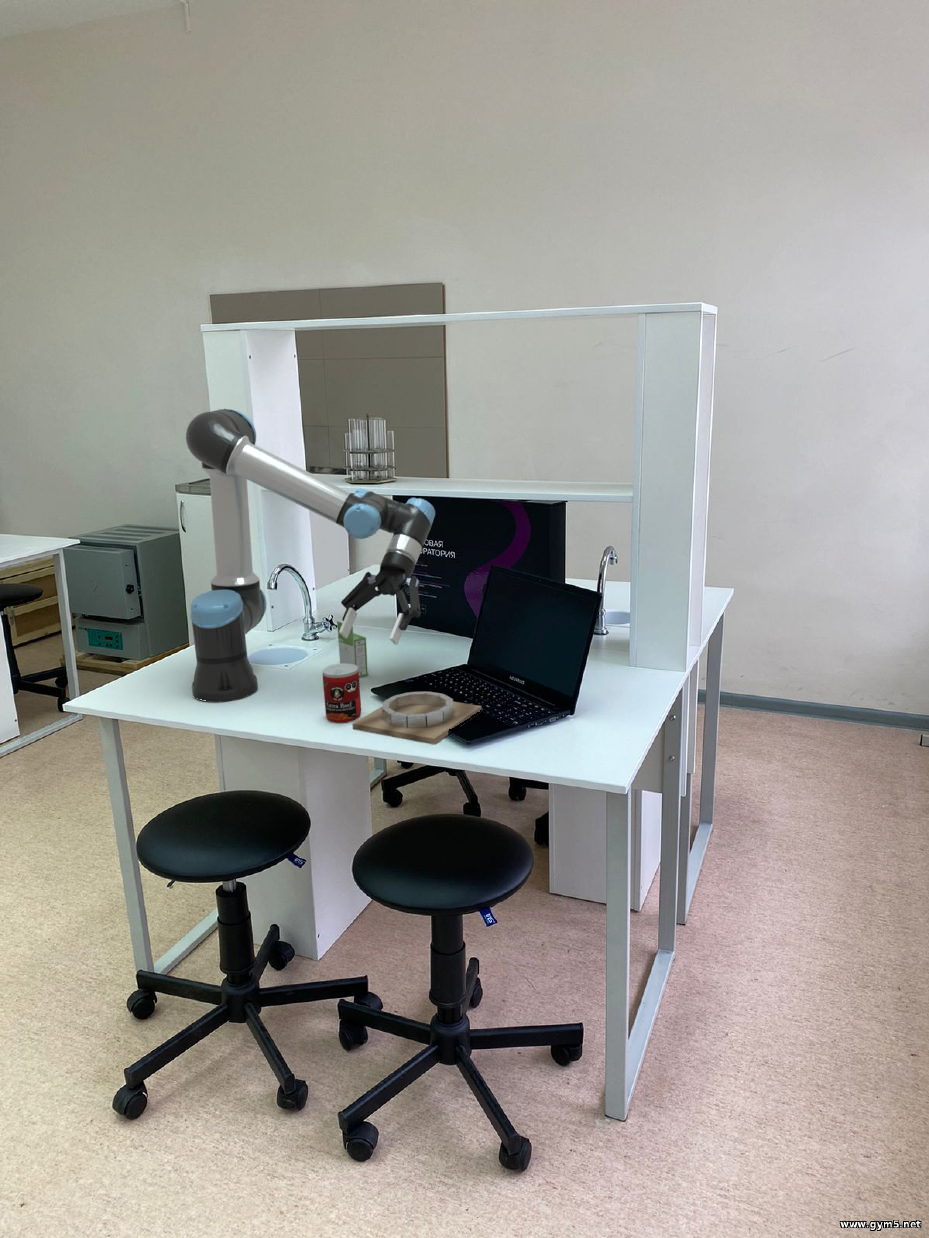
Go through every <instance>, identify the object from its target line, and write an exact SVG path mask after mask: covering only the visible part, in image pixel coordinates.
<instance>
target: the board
mask: <svg viewBox="0 0 929 1238" xmlns="http://www.w3.org/2000/svg"><path fill="white" fill-rule="evenodd" d="M439 709H441V708H440V707H438V706H432V705H410V706H406V707H402V708H398V709H397V710H395V712H399V713H405V714H425V713H429V712H433V711H437V710H439ZM481 709H483V708H482V705H476V704H470V703H465V702H460V701H459V702H458V701H453V717H452V718H451V719H449V720H448V721H446V722H445V723H443V724H439V725H435V726H431V727H426V728H403V727H398V726H392V725H390V724H388V723H387V722H385V721H384V720H383V719H382V706H380V707H378V708H377V709H375V710H374V711H372V712H371V713H368V714H366V715H365V716H363V717H360V719H357V720H355V722H354V721H353V723H352V729H353V730H356V731H363V732H368V733H373V734H378V735H384V736H389V737H395V738H399V739H405V740H410V741H415V742H420V743H426V744H431V745H436V744H437V743H439V742H440V741H442V740H443V739H444V738H446V737H447V736H449V735H448V731H449V729H452V728H454V727H455V726H457V725H459V724H460V723H462V722H464V721H465V720H467V719H469V718H470V717H471V716H472V715H474V714H476V713H477V712H480V710H481ZM480 713H481V712H480Z"/></svg>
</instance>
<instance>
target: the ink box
mask: <svg viewBox="0 0 929 1238" xmlns="http://www.w3.org/2000/svg"><path fill="white" fill-rule="evenodd" d="M336 624H337V627H336V628H337V634H338V635H337V637H338V638H337V639H338V655H339V664H344V663H346V664H353V665H356V666H358V670H359V678H362V677H366V676H369V673H368V672H369V671H368V651H367V650H368V649H367V637H366V636H362V635H360V634H358V633H355V632H354V626H352V628H351V630H350V633H349V635H348V638H344V637H343V636H342V635H341V634H340V633H339V631H340V628H341V626H342V624H343V621H336Z"/></svg>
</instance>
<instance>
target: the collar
mask: <svg viewBox="0 0 929 1238" xmlns="http://www.w3.org/2000/svg"><path fill="white" fill-rule="evenodd" d="M453 702H454V699H453V698H451V697H450V696H448V695H446V694H444V693H440V692H435V691H434V692H433V691H410V692H404V693H401V694H399V693H398V694H396V695H393V696H391V697H389V698H387V699H385V700H384V701H383V702H382V705H381V707H382V719H383V720H384V721H385V722H387V723H388V724H390V725H392V726H398V727H403V728H426V727H431V726H435V725H439V724H443V723H445V722H446V721H448V720H449V719H451V718H452V717H453ZM410 705H432V706H438V707H440V708H441V709H439V710H437V711H433V712H429V713H425V714H405V713H399V712H395V710H397V709H398V708H402V707H406V706H410Z"/></svg>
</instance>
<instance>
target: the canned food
mask: <svg viewBox="0 0 929 1238" xmlns="http://www.w3.org/2000/svg"><path fill="white" fill-rule="evenodd" d="M360 684H361V683H360V677H359V670H358V666H356V665H353V664H346V663H344V664H340V663H335V664H332V665H328V666H326V667H324V668H323V669H322V685H323V697H324V698H323V699H324V700H323V701H324V709H325V710H324V711H325V717H326V720H327V721H329V722H331V723H334V722H335V723H334V724H345V723H350V722H351V723H352V722H354V721H357V720H359V718H361V715H362V703H361V699H362V698H361V688H360V687H361V685H360Z"/></svg>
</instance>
